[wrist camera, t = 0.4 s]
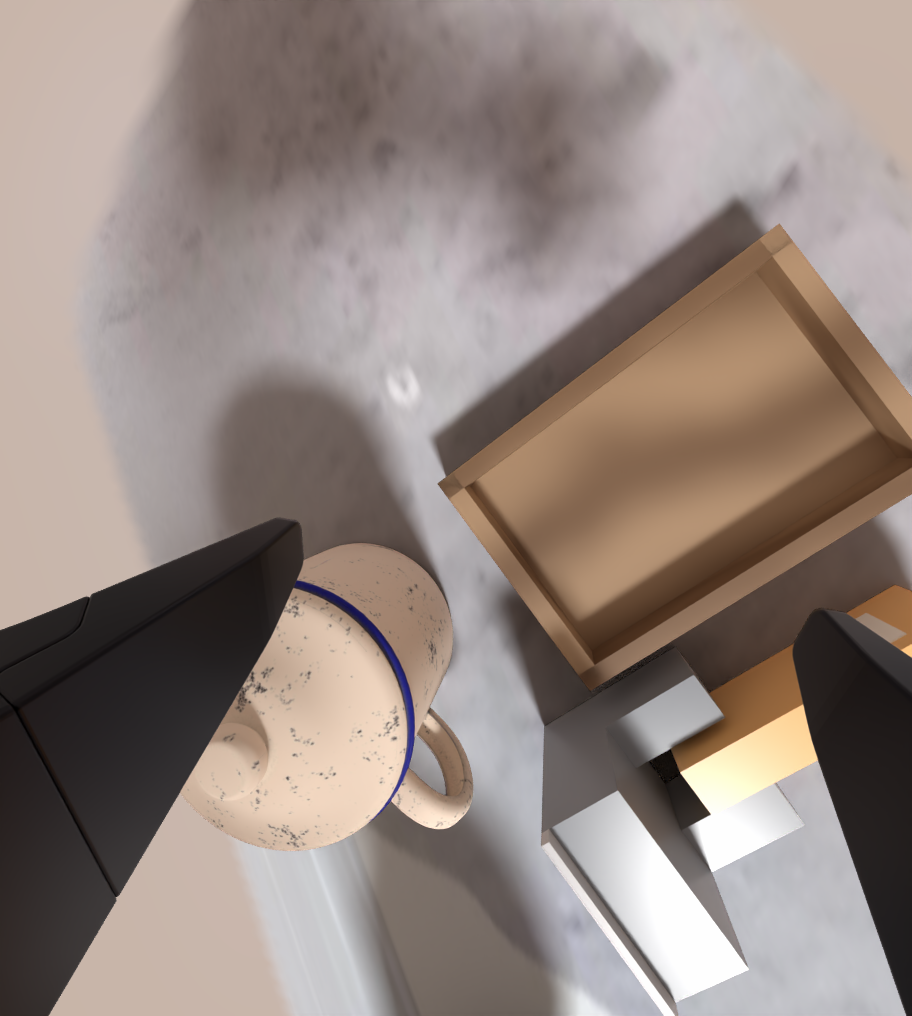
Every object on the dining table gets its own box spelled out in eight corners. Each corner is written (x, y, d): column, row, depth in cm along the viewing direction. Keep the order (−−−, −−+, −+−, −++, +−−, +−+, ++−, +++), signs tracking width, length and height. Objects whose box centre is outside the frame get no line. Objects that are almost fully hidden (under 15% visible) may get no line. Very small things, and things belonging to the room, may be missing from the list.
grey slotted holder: (772, 777, 23) (878, 933, 16) (634, 850, 24) (671, 1025, 17) (675, 646, 23) (735, 739, 16) (544, 726, 25) (541, 846, 17)
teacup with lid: (246, 632, 27) (20, 765, 15) (354, 497, 25) (189, 534, 14) (423, 796, 26) (324, 1065, 15) (547, 668, 24) (544, 862, 13)
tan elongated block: (922, 624, 21) (1005, 662, 18) (686, 756, 24) (713, 816, 20) (891, 582, 22) (966, 611, 18) (658, 718, 24) (679, 771, 20)
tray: (919, 462, 21) (962, 463, 19) (586, 669, 24) (590, 691, 22) (755, 246, 21) (779, 223, 19) (447, 480, 24) (437, 483, 22)
